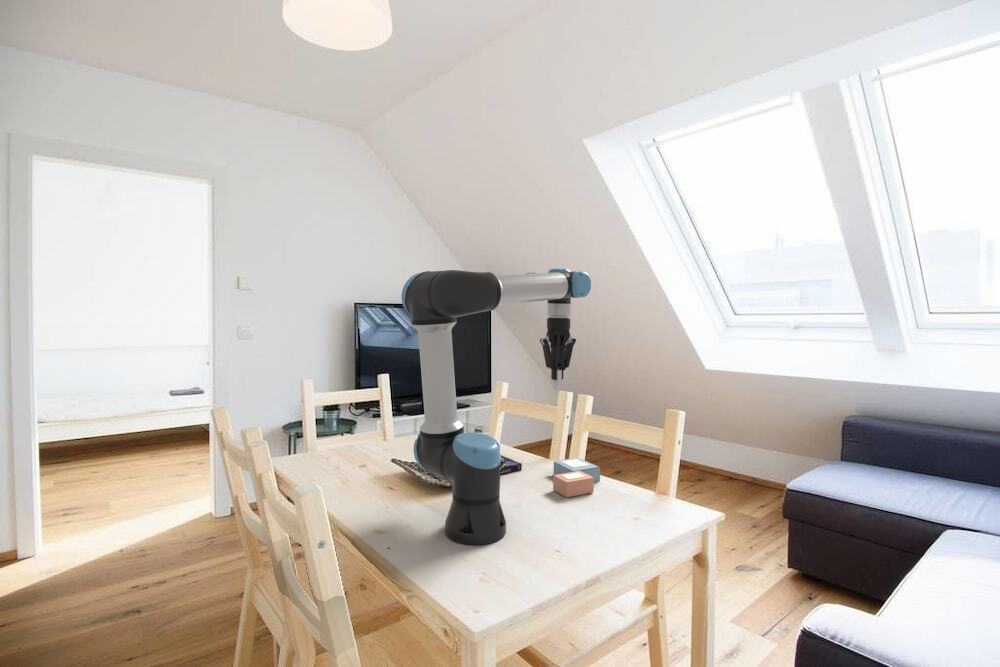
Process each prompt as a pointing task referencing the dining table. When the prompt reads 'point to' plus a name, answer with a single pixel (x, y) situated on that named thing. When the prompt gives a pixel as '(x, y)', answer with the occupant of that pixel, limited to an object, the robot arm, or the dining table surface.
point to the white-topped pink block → (573, 483)
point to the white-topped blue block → (577, 467)
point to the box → (510, 466)
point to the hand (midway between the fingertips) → (557, 389)
